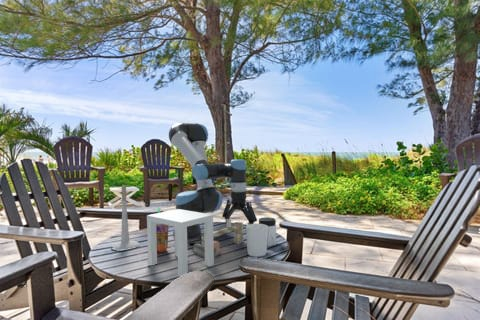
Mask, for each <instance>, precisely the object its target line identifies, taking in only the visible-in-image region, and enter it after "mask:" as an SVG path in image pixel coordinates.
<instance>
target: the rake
mask: <svg viewBox="0 0 480 320" xmlns="http://www.w3.org/2000/svg"><path fill="white" fill-rule="evenodd" d="M231 232H233V243H234V244H237V245H240V244H241V243H243V242H244V222H243V221H236V222H235V221H234V222H233V225H231V226H230V227H227V226H226V227H224V228H221V229H218V230H213V238H216V237H220V236H222V235H225V234H227V233H231ZM193 254H194V255H197V256H201V257H204V258H205V242H204V234H202V235H201V244H200V243H193ZM217 255H218V254H217V251H216V248H214V260H215V259H217V258H218V257H217Z"/></svg>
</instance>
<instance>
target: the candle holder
mask: <svg viewBox="0 0 480 320" xmlns="http://www.w3.org/2000/svg"><path fill="white" fill-rule="evenodd" d="M267 234H268V226H267V225H265V224H259V223H254V224H249V225H248V224H247V225H245V235H246V238H245V239H246V247H247V248H246V249H247V250H246V251H247V255H249V256H251V257H255V258H258V257H264V256H266V255H267V251H268V246H267Z"/></svg>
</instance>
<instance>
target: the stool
mask: <svg viewBox="0 0 480 320" xmlns="http://www.w3.org/2000/svg"><path fill="white" fill-rule="evenodd" d="M156 222H157V223H161V224H165V225H169V226H171V227H174V229H173V231H175V238H174V256H175V257H177V277H178V276H181V275H183V274H185V273H187V272H188V273H189V268H188V267H189V265H188V262H189V261H188V259H189V258H188V239H187V227H188V226H191V225H195V224H199V225H200V224H202V223H203V226H204V227H203V235H204V242H205V257H204V265H205V267H206V266H207V267H212V266H215V259H214V243H213V241H214V237H213V232H214V214H211V213H200V212H194V211H188V210H182V209H176V208H175V209H172V210H167V211H162V212H161V211H160V213H158V212H157V213H151V214H147V215H146V229H147V231H146V232H147V233H146V234H147V265H148V264H150V265H154V264H157V265H158V253H157V237H156Z"/></svg>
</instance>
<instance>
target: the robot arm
mask: <svg viewBox="0 0 480 320" xmlns="http://www.w3.org/2000/svg"><path fill="white" fill-rule="evenodd" d="M208 139H209V132H208V129H207V127H206V126H205V125H204V124H202V123H197V122H196V123H189V122H179V123H175V124H174V125H172V126H171V128H170V129H169V132H168V140H169V142H170V144H172V146H173V147H176V148H177V149H178V151H179V152H180V153H181V154H182V156H183V157H184V158H185V160H186V161H187V162H188V163H189V164H190V166H191V167H192V171H191V173H192V176H193V178H194V179H195V180H196V185H197V189H196V190H187V191H186V190H185V191H181V192H180V193H177V194H176V196H175V202H174V203H175V210H176V209H182V210H188V211H194V212H200V213H206V214H210V213H214V212H218V211H219V210H220V209H221V207H222V206H223V195H222V193H221V191H219V190H217V187H216V186H215V185H213V180H214V179H230V190H231V192H230V198H229V199H227V200H226V204H225V207H224V210H223V213H222V215H221V216H222V217H223V218H224V220H225V225H226V228H227V227H230V226H232V218H231V216H232V215H233V214H234V212H235V211H241V212H242V213H243V215H244V217H245V218H246V220H247V221H248V222H247V225H249V224H255V222H258V218H257V216H256V213H255V211H254V208H253V205H252V201H247V200H246V199H247V191H246V190H247V165H246V163H247V162H246V160H245V159H231V160H230V163H227V162H221V163H219V162H218V163H209V162H208V158H207V153H206V149H205V146H206V145H207V142H208ZM202 231H203V230H202V228H201V225H200V223H199V224H195V225H191V226H188V227H187V240H189V239H195V238H199V237H202V235H203V234H202ZM172 236H173V238H174V237H175V231H174V230H173V231H172Z"/></svg>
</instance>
